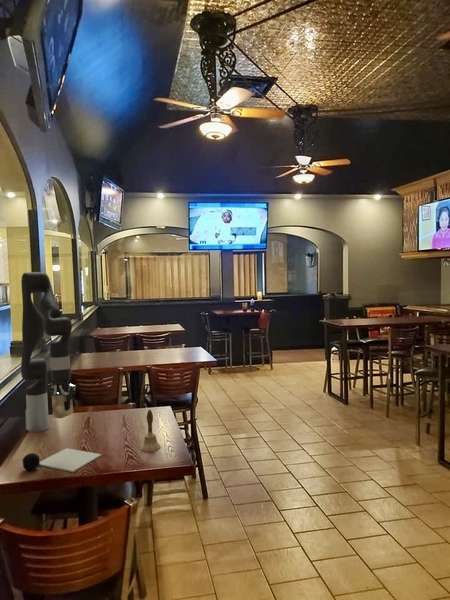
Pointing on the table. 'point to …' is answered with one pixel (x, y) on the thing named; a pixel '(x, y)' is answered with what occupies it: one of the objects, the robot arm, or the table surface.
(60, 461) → the mat
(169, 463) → the table surface
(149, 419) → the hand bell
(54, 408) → the block
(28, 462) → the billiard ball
